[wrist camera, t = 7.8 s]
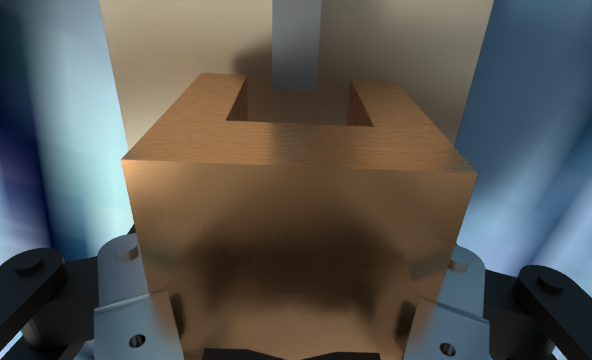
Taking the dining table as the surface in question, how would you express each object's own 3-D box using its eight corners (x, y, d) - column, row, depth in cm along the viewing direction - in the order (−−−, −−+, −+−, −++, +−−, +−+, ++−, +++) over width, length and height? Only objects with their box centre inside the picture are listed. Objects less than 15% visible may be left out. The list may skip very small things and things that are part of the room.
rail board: (399, 298, 20) (421, 369, 16) (170, 292, 19) (143, 362, 16) (562, -364, 9) (736, -582, 5) (50, -397, 9) (-117, -647, 5)
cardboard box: (201, 72, 11) (120, 159, 6) (395, 81, 12) (478, 173, 6) (217, 269, 15) (176, 423, 10) (362, 273, 15) (395, 428, 10)
